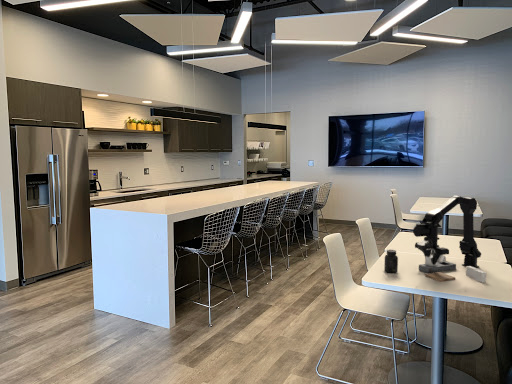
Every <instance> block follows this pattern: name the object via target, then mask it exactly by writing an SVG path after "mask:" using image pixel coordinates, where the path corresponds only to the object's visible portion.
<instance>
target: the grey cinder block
mask: <svg viewBox="0 0 512 384" xmlns="http://www.w3.org/2000/svg"><path fill="white" fill-rule="evenodd" d="M455 270H457V263H453V262H450V261H447V260H445V261H443V262H437V263H436V266H435V267H429V266H426V265H425V263H421V264H418V271H420V272H423V273H425V274H430V273H436V272H441V273H444V272H448V271H455Z"/></svg>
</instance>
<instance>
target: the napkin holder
mask: <svg viewBox="0 0 512 384" xmlns="http://www.w3.org/2000/svg"><path fill="white" fill-rule="evenodd" d="M465 267H466V268H465V276H467V277H469V278H471V279H474V280H475V281H477V282H480V283H486V281H487V279H486V278H487V272H486V271H483V270H481V269H480V268H478V267H476V268H474V267H471V266H465Z"/></svg>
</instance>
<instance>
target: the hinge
mask: <svg viewBox="0 0 512 384" xmlns="http://www.w3.org/2000/svg"><path fill="white" fill-rule="evenodd" d="M437 248H441V246H439V247H437ZM431 253H434V251H433V250H431ZM431 255H432V254H431ZM432 256H433V255H432ZM446 259H447V258H446V255H441V256H440V257H439V259H438V260H437V262H443V261H447V260H446Z"/></svg>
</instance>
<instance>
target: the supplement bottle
mask: <svg viewBox="0 0 512 384" xmlns="http://www.w3.org/2000/svg"><path fill="white" fill-rule="evenodd" d="M383 266H384V268H383V270H384V273H385V274H389V275H392V274H393V275H395V274H397V273H398V272H399V271H398V270H399V267H398V266H399V256H397V250H396V249H395V250H394V249H387V250H386V254H385V255H384V265H383Z"/></svg>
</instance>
